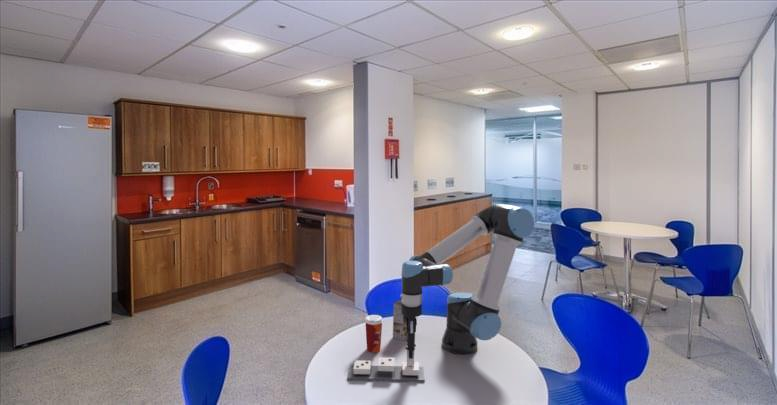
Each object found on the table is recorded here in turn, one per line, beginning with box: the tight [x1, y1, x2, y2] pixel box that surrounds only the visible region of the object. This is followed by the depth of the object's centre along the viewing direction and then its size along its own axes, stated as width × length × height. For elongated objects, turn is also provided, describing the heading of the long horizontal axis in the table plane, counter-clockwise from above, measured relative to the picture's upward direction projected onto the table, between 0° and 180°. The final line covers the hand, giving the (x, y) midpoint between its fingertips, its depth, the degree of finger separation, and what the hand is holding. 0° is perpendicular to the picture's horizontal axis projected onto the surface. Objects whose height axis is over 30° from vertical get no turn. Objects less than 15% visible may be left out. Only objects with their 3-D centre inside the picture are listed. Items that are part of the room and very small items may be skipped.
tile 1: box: [401, 361, 420, 376], centre depth 144 cm, size 6×6×2 cm
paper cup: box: [364, 314, 384, 354], centre depth 162 cm, size 8×8×14 cm
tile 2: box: [377, 356, 396, 371], centre depth 144 cm, size 6×6×2 cm
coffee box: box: [392, 298, 407, 341], centre depth 176 cm, size 9×6×16 cm
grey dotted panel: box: [347, 364, 426, 383], centre depth 144 cm, size 28×9×1 cm, turn 88°
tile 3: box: [353, 359, 372, 374], centre depth 144 cm, size 6×6×2 cm
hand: (410, 364), depth 143 cm, fingers closed
